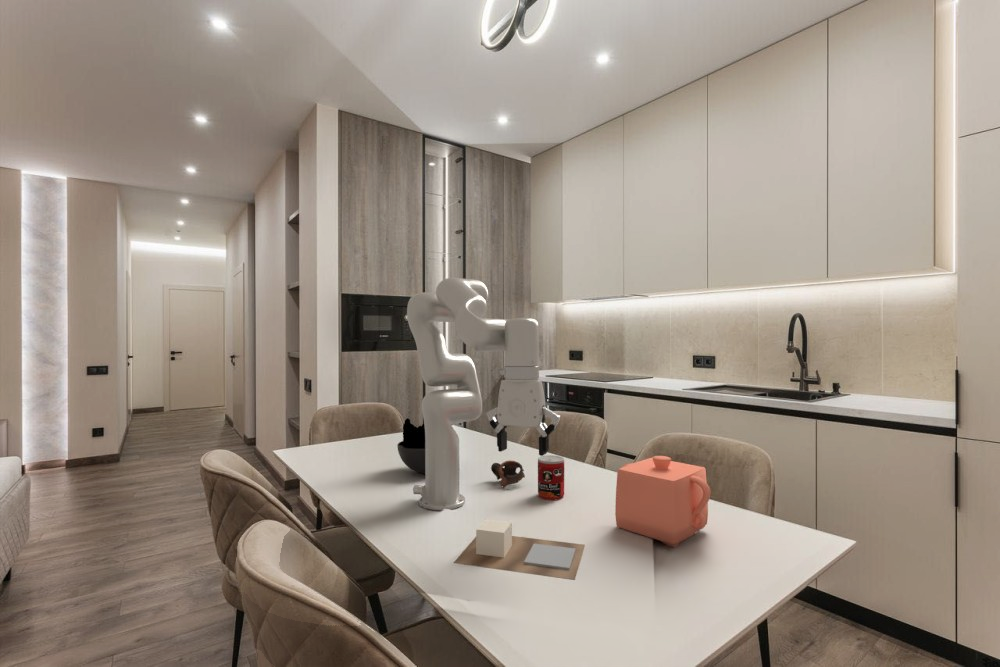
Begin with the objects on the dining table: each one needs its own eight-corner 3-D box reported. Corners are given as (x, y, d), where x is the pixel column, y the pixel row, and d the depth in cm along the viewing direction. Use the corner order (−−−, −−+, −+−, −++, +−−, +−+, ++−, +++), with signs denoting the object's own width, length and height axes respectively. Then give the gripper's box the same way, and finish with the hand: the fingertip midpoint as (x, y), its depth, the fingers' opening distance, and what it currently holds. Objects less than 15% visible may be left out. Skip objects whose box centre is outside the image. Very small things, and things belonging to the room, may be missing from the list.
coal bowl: (463, 466, 175) (463, 414, 175) (444, 482, 156) (444, 423, 156) (411, 463, 180) (411, 412, 180) (387, 478, 160) (387, 421, 160)
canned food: (534, 498, 140) (534, 460, 140) (542, 490, 147) (542, 454, 147) (560, 501, 137) (560, 462, 137) (567, 493, 144) (567, 456, 144)
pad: (523, 563, 96) (523, 561, 96) (533, 545, 104) (533, 543, 104) (569, 570, 93) (569, 567, 93) (575, 550, 102) (575, 548, 102)
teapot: (651, 505, 134) (651, 440, 135) (737, 527, 118) (736, 453, 118) (600, 529, 117) (600, 455, 117) (692, 559, 101) (692, 473, 101)
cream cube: (476, 553, 100) (476, 529, 100) (485, 542, 106) (485, 519, 106) (504, 557, 98) (504, 532, 98) (511, 545, 104) (511, 522, 104)
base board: (453, 570, 96) (453, 562, 96) (479, 538, 111) (479, 532, 111) (574, 587, 89) (574, 579, 89) (585, 551, 104) (585, 544, 104)
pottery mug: (529, 482, 158) (530, 463, 154) (515, 502, 150) (516, 483, 146) (496, 468, 163) (497, 450, 158) (482, 487, 155) (482, 469, 151)
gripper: (479, 374, 107) (479, 452, 107) (553, 376, 100) (553, 459, 99) (494, 372, 114) (494, 445, 114) (564, 374, 106) (565, 452, 106)
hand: (522, 452), depth 106 cm, fingers open, 9 cm apart
